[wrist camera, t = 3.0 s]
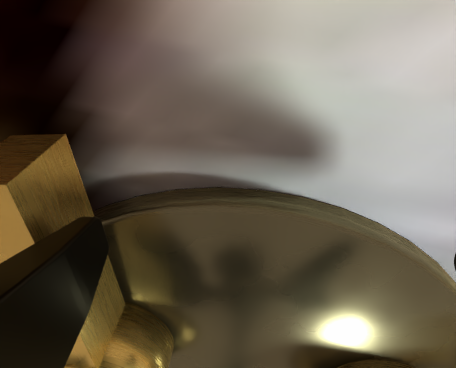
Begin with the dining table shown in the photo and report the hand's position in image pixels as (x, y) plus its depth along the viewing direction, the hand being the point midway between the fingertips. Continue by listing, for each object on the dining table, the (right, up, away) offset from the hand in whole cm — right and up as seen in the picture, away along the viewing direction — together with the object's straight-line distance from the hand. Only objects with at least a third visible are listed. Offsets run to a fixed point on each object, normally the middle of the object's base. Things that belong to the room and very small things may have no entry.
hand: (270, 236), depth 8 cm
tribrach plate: (-1, -7, +8) cm, 10 cm away
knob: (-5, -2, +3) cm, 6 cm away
